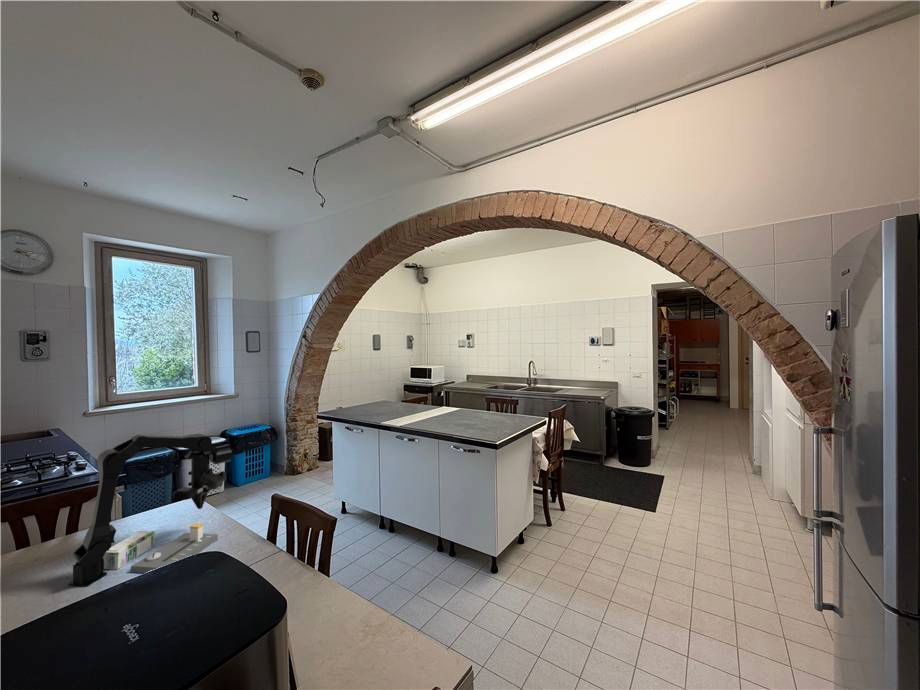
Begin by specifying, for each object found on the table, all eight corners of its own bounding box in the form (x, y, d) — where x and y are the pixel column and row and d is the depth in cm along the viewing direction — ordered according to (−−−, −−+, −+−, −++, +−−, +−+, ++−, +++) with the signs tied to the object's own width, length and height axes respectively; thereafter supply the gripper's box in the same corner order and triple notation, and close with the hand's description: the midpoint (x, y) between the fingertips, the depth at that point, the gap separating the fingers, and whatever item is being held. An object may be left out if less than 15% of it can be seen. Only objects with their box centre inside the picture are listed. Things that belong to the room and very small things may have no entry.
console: (168, 574, 121) (168, 565, 121) (131, 572, 122) (131, 563, 122) (217, 539, 143) (217, 531, 143) (185, 537, 144) (185, 530, 144)
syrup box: (154, 546, 138) (118, 569, 124) (139, 545, 138) (100, 569, 124) (155, 530, 138) (118, 552, 124) (139, 530, 138) (101, 552, 124)
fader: (197, 540, 138) (197, 527, 138) (189, 539, 138) (189, 526, 138) (203, 536, 141) (203, 523, 141) (195, 536, 141) (195, 523, 141)
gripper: (201, 477, 133) (201, 521, 133) (237, 460, 152) (236, 499, 152) (172, 475, 134) (171, 519, 134) (211, 459, 152) (210, 498, 152)
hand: (200, 508), depth 143 cm, fingers closed
